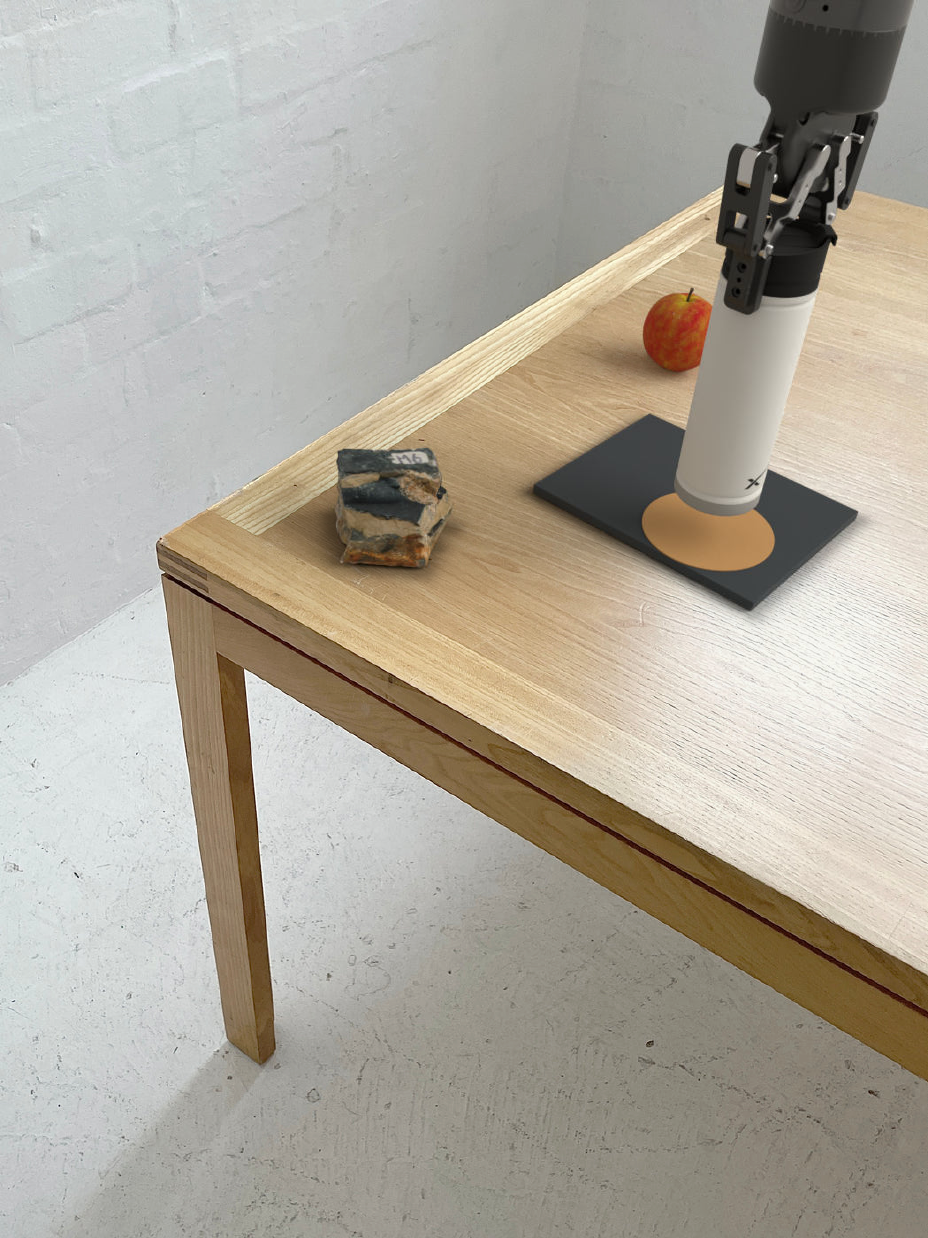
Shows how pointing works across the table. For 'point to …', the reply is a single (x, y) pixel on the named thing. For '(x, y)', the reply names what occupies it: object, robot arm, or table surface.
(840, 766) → the table surface
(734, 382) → the travel mug
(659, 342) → the fruit
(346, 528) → the rock
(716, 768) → the table surface
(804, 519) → the mat
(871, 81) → the robot arm
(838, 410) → the table surface
